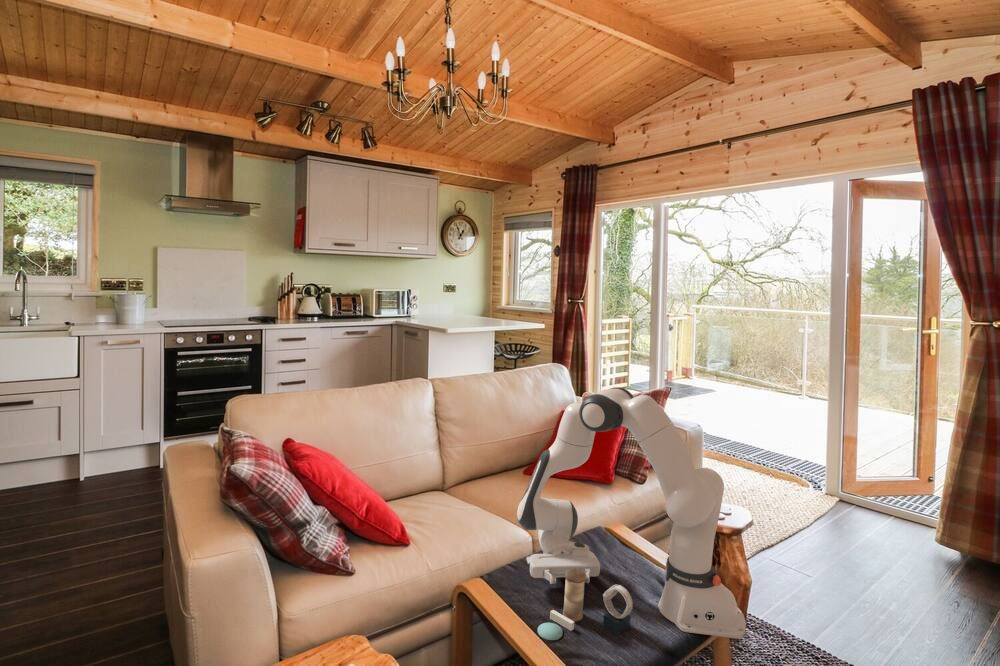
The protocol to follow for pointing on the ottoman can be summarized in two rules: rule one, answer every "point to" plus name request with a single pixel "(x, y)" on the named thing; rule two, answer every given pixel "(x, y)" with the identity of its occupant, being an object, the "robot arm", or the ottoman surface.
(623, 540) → the ottoman surface
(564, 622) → the rail
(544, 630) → the coaster
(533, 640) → the ottoman surface
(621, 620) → the watch
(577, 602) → the spool
